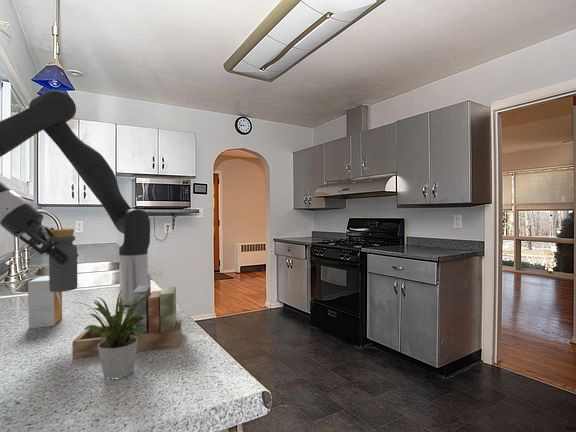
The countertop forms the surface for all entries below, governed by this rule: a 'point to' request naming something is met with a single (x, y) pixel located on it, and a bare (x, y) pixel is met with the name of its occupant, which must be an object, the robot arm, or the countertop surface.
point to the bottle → (63, 274)
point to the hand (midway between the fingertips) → (70, 260)
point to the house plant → (117, 338)
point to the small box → (43, 304)
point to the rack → (158, 322)
